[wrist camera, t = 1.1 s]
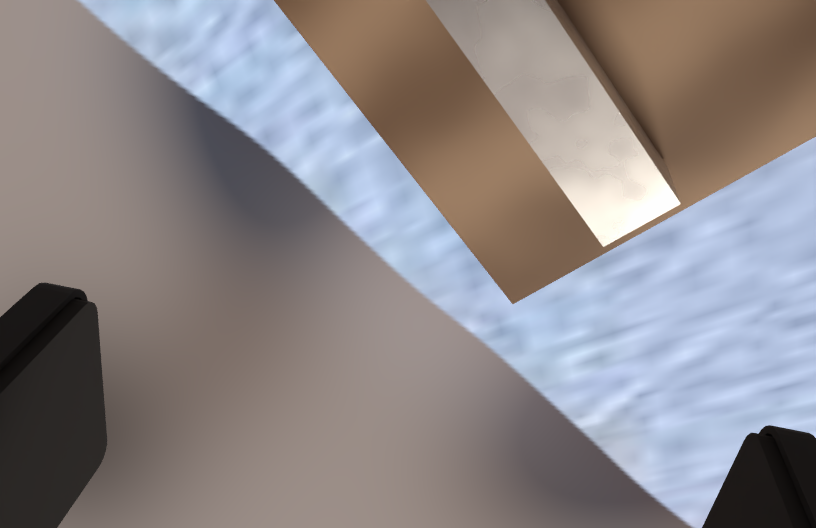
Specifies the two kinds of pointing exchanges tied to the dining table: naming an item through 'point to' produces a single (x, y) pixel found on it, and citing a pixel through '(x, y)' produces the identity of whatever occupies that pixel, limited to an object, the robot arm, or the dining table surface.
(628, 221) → the bar
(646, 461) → the dining table surface
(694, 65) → the brown wooden board
